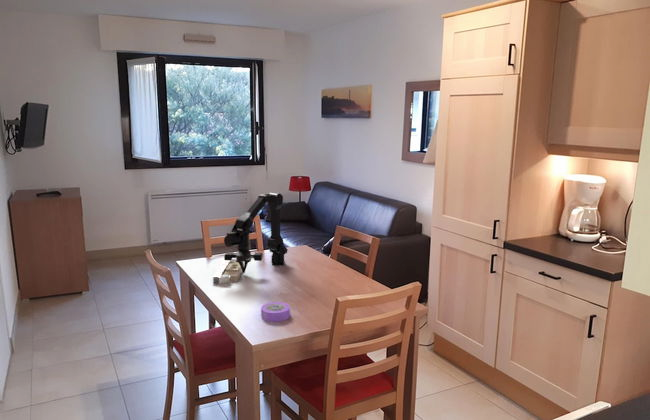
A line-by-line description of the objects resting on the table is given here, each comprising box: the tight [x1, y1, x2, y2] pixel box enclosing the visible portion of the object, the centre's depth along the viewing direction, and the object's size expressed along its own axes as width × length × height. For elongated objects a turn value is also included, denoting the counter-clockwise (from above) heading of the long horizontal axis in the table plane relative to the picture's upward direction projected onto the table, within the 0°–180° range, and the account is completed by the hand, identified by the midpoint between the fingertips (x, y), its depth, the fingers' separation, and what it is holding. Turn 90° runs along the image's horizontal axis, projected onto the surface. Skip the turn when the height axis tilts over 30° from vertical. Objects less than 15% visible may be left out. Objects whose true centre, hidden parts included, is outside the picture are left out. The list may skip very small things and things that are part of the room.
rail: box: [212, 258, 239, 286], centre depth 245 cm, size 8×31×4 cm, turn 1°
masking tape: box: [260, 301, 291, 323], centre depth 196 cm, size 12×12×4 cm
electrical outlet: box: [223, 263, 243, 283], centre depth 244 cm, size 7×4×18 cm
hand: (243, 272), depth 245 cm, fingers closed
